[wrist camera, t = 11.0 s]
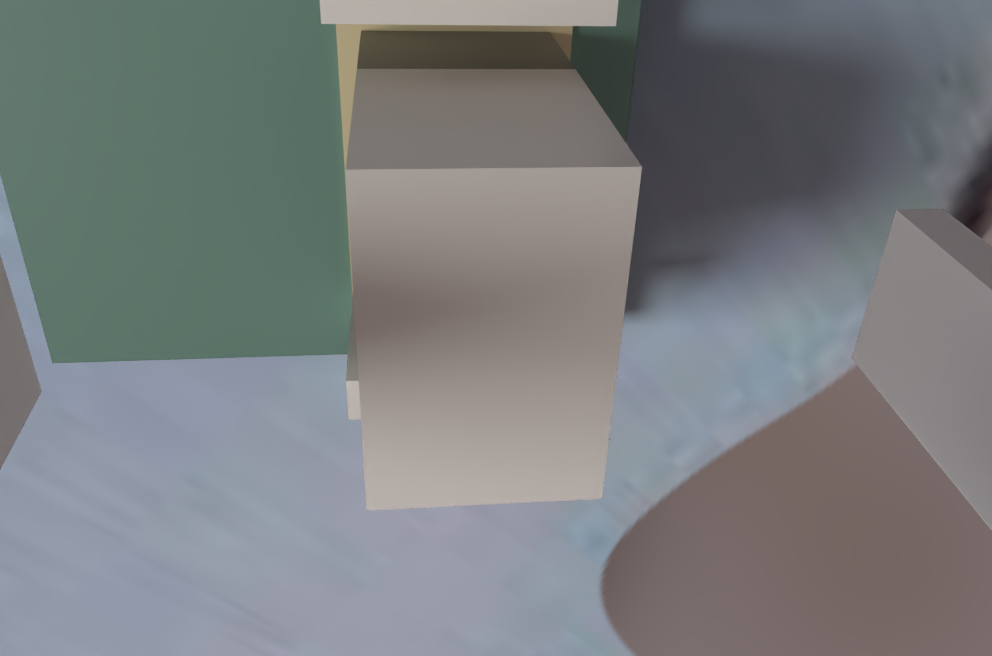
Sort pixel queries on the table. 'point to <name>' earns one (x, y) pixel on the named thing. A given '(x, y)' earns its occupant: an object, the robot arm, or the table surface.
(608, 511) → the table surface
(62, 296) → the header board
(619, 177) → the plug
